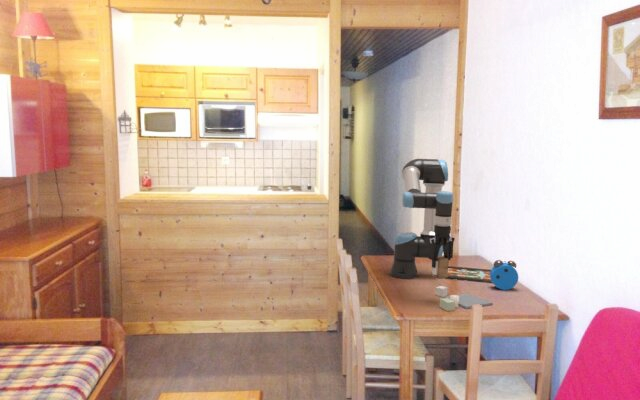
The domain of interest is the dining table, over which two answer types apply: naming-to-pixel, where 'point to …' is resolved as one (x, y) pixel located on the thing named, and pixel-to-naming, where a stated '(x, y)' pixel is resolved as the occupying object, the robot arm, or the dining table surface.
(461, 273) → the painting
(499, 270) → the alarm clock
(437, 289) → the white cube
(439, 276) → the walnut block
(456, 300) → the cream cylinder
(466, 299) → the grey mat
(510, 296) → the dining table surface
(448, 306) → the sage block
